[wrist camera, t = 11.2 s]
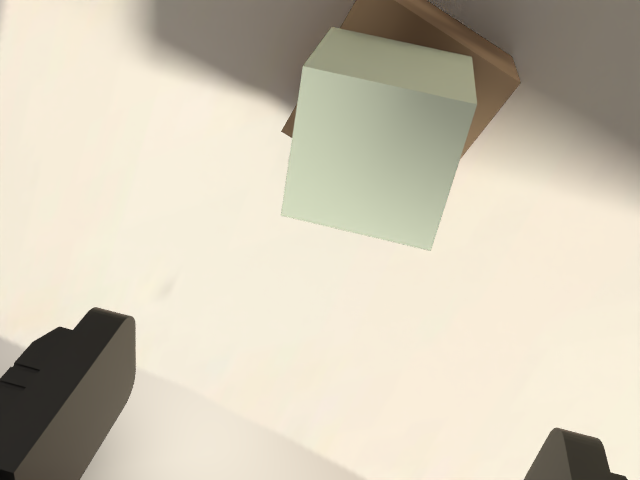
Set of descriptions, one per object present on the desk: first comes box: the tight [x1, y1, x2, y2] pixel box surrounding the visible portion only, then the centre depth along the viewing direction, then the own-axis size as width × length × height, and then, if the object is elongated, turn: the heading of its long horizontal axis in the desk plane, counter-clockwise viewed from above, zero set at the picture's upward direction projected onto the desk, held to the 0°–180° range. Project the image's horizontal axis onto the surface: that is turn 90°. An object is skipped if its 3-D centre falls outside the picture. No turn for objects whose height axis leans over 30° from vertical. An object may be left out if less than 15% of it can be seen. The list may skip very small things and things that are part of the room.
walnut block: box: [281, 0, 521, 159], centre depth 26 cm, size 7×7×4 cm
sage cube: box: [281, 27, 477, 251], centre depth 23 cm, size 6×6×6 cm
